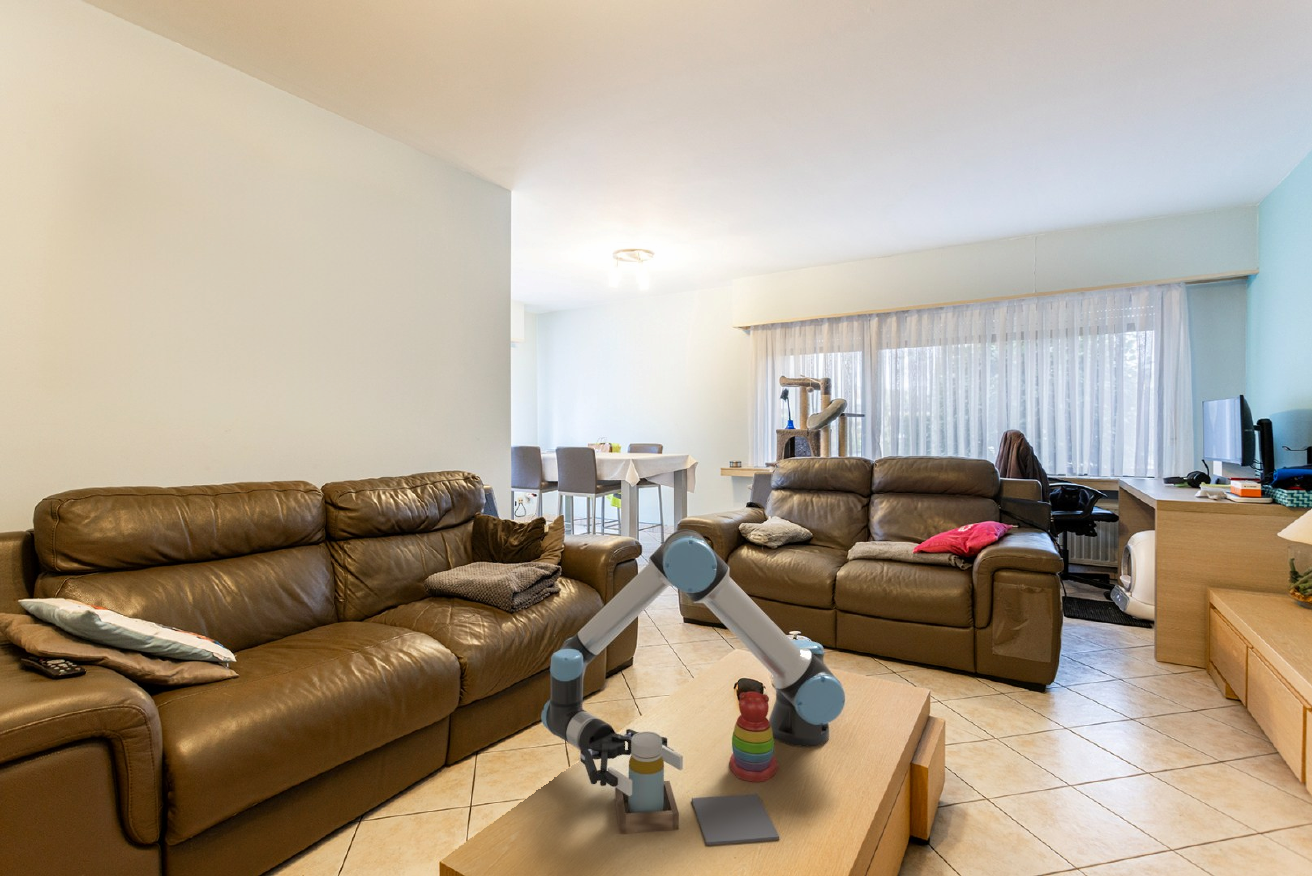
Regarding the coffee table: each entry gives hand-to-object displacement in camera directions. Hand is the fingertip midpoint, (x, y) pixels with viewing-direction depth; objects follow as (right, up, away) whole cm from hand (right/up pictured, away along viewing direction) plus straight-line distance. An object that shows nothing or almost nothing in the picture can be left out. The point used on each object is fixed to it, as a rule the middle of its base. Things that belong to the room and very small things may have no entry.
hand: (657, 775), depth 123 cm
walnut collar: (-2, -9, +2) cm, 10 cm away
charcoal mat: (+15, -9, +1) cm, 18 cm away
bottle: (-2, -9, +2) cm, 10 cm away
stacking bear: (+22, -9, +19) cm, 30 cm away
